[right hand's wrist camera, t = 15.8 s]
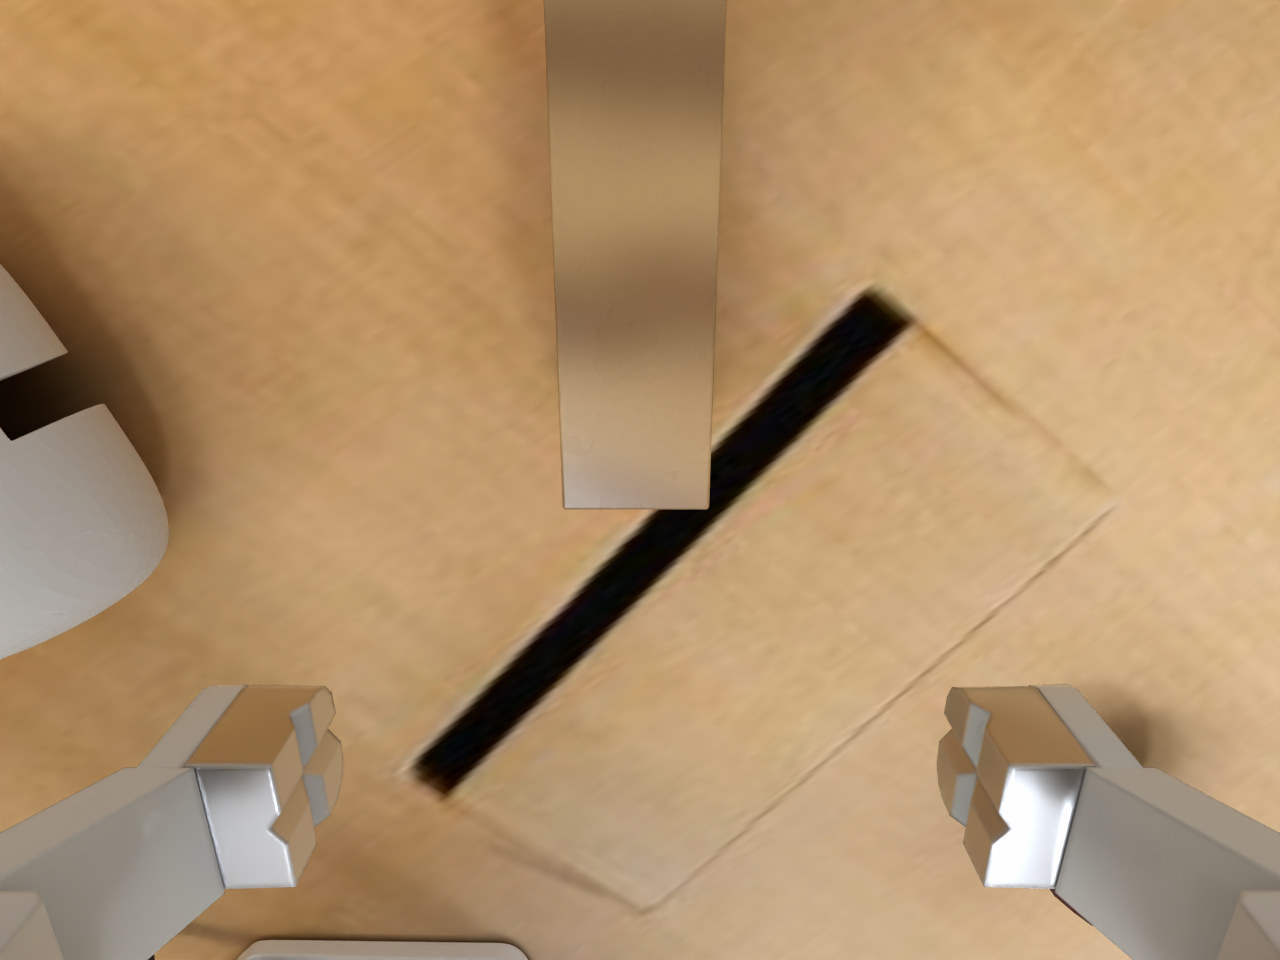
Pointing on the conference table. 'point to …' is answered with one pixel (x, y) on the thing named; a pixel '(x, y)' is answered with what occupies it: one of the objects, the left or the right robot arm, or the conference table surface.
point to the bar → (635, 244)
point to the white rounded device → (67, 503)
